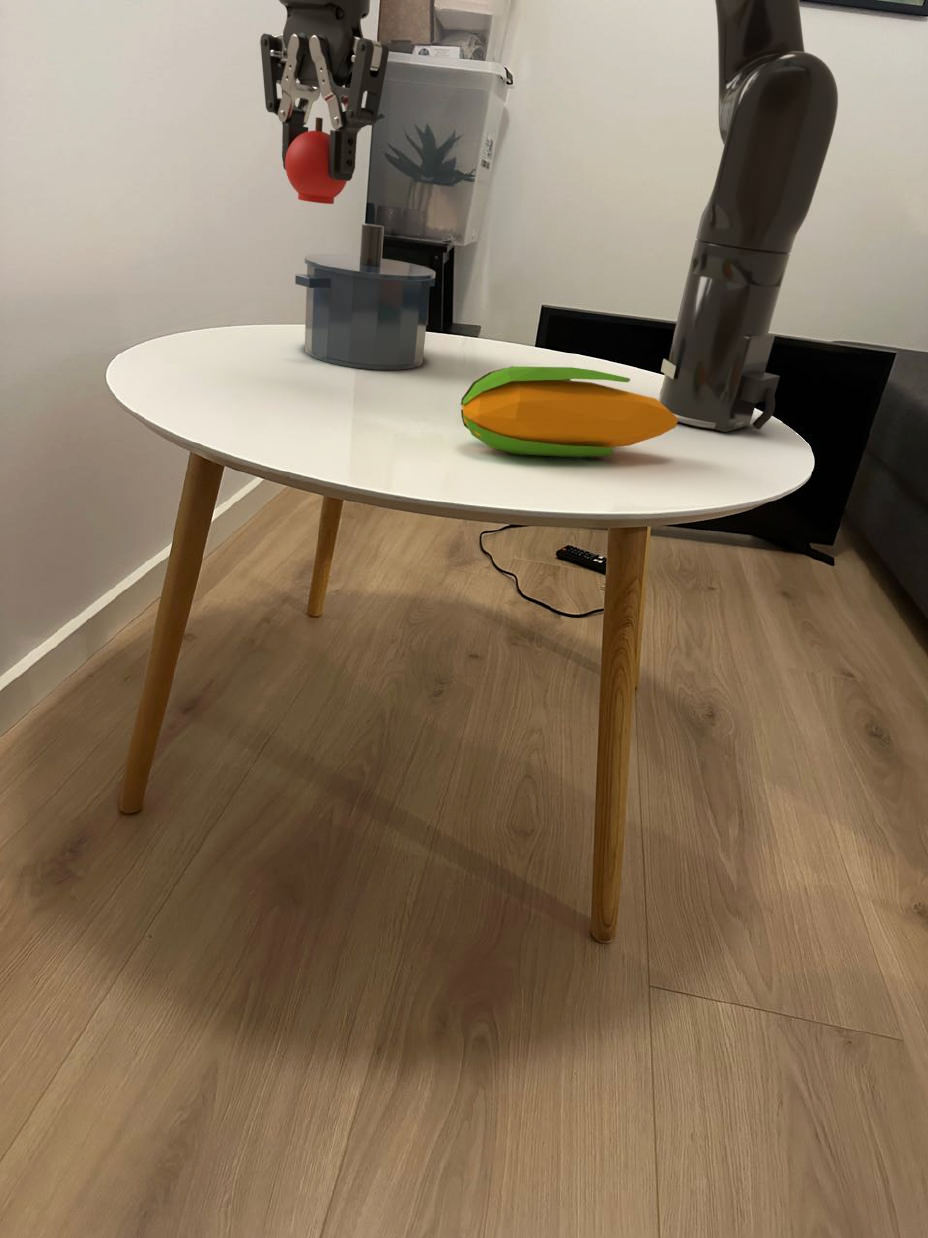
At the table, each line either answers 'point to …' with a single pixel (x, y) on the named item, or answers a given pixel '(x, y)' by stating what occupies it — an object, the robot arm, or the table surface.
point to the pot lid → (370, 261)
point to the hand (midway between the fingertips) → (316, 174)
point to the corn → (559, 412)
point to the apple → (312, 167)
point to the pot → (365, 320)
